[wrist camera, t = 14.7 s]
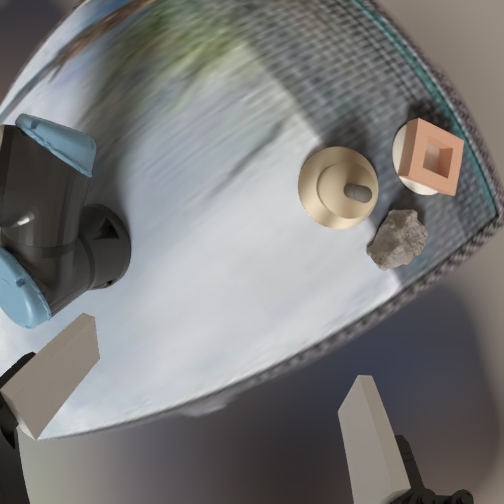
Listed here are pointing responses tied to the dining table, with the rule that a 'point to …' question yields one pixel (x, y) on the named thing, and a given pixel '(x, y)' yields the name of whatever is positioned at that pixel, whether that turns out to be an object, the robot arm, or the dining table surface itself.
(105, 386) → the dining table surface
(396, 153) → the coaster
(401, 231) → the stone
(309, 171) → the stand
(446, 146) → the link
